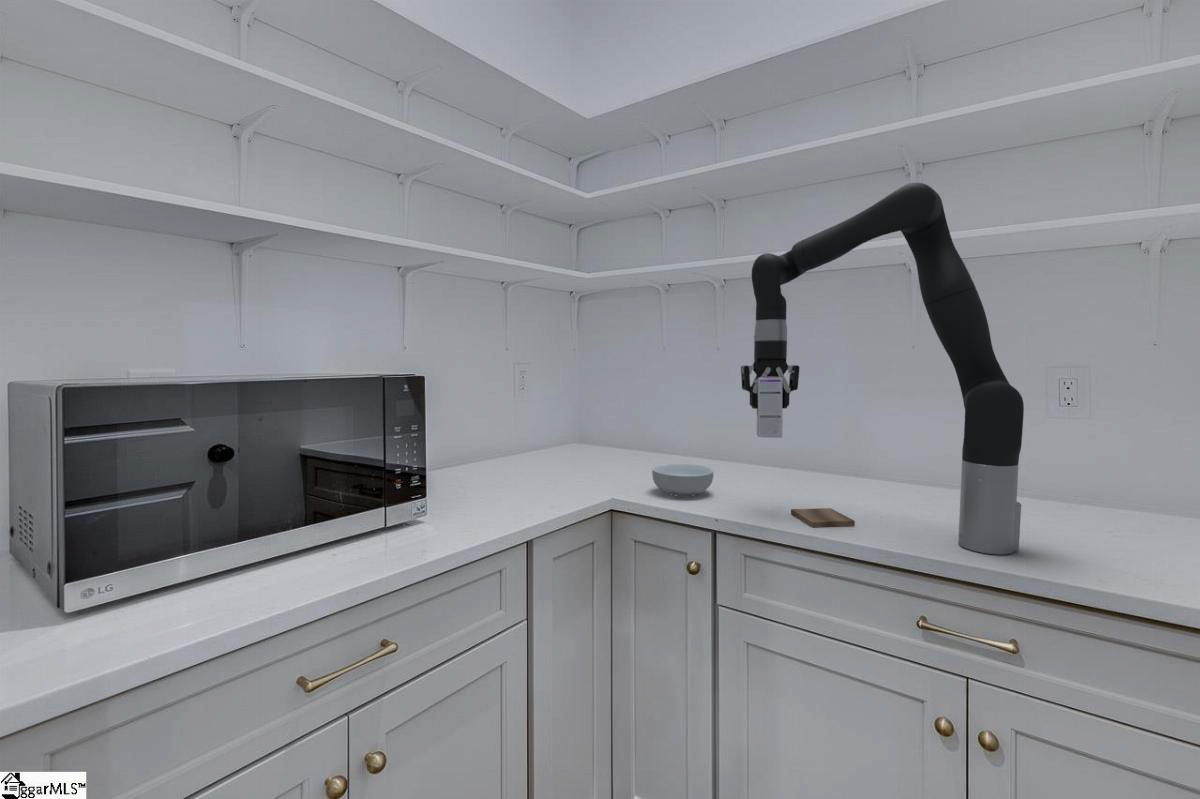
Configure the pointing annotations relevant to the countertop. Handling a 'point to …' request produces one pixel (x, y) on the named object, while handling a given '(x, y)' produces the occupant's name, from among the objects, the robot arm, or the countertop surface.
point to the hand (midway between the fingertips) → (769, 408)
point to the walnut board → (822, 517)
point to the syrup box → (769, 407)
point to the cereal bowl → (682, 478)
